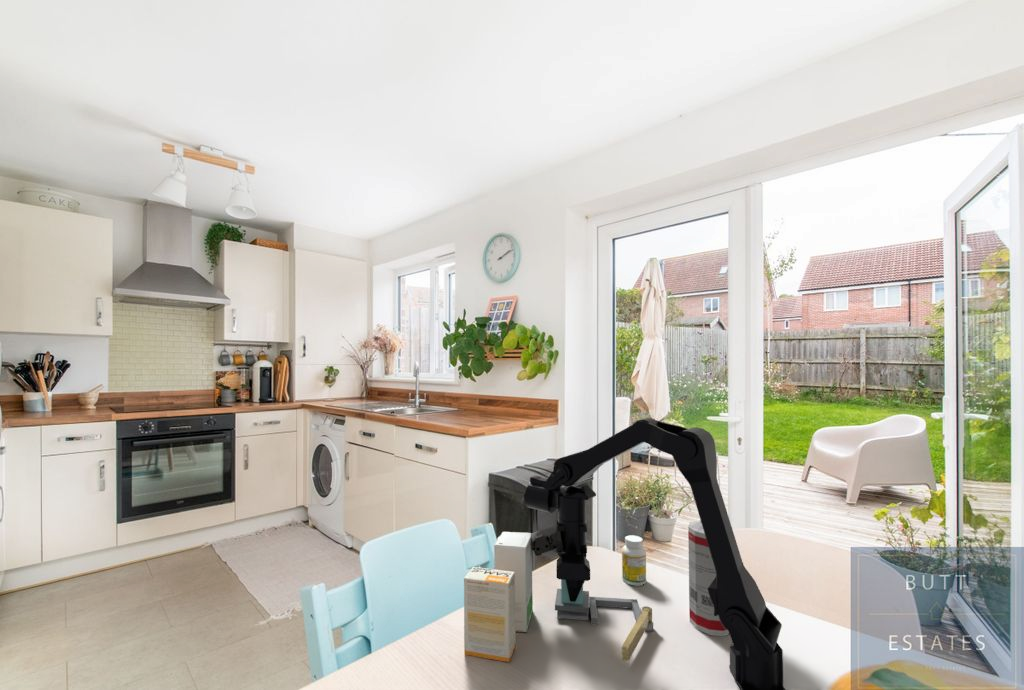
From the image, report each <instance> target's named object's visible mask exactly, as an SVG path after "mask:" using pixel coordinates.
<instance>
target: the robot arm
mask: <svg viewBox="0 0 1024 690" xmlns="http://www.w3.org/2000/svg"><path fill="white" fill-rule="evenodd" d="M644 443H645V444H647V445H649V446H651V447H653V448H655V449H656V450H658V451H660V452H662V453H665V454H667V455H671V456H672V458H673V460H674V462H675V465H676V466H677V469H678V471H679V472H680V473H681V475H682V476H683V478H684V479H685V480H686V482H688V484H689V486H690V489H691V492H692V495H693V496H692V497H693V499H694V502H695V506H696V509H697V512H698V515H699V519H700V520H701V523H702V526H703V530H704V533H705V537H706V540H707V543H708V547H709V550H710V553H711V557H712V560H713V563H714V567H715V570H716V577H715V579H714V580H713V581H712V583H711V584H710V586H709V587H708V592H709V595H710V598H711V600H712V602H713V605H714V616H717V615H719V619H720V621H721V624H722V625H723V627H724V628H725V629H727V630H728V631H729V634H728V635H729V636H730V638H731V641H732V645H730V646H729V665H728V666H729V672H730V674H731V676H732V678H733V679H734V681H735V682H736V683H737V684H738V687H739V688H740V690H786V688H785V687H784V660H783V659H784V658H783V657H784V656H783V655H784V654H783V653H784V652H783V651H784V650H783V648H782V647H781V646H780V644H779V643H778V639H779V636H780V633H781V629H782V627H783V626H782V625H783V624H782V623H781V621H780V620H779V619H778V618H777V617H776V616H775V615H774V614H773V612H772V611H771V610H770V609H769V608H768V606H766V605H767V604H766V601H765V599H764V597H763V595H762V593H761V590H760V589H759V586H758V584H757V582H756V580H755V579H754V578H753V576H752V575H751V574H750V572H749V571H748V570H747V568H746V567H745V565H744V562H743V559H742V556H741V553H740V549H739V546H738V543H737V540H736V537H735V533H734V530H733V527H732V523H731V521H730V517H729V515H728V510H727V507H726V504H725V501H724V498H723V495H722V491H721V489H720V485H719V482H718V476H717V475H718V474H717V473H718V469H717V468H718V458H717V451H716V442H715V439H714V437H713V435H712V434H711V432H710V431H707V430H706V429H704V428H702V427H698V426H696V427H694V426H693V427H689V428H687V427H684V426H680V425H677V424H671V423H669V422H664V421H660V420H658V419H655V418H652V417H646V418H645V417H644V418H642V419H638V420H636V421H635V422H634V423H633V424H631V425H630V426H628V427H626V428H624V429H622V430H621V431H619V432H616V433H614V434H613V435H611V436H609V437H608V438H606V439H604V440H602V441H600V442H599V443H596V444H595V445H593V446H591V447H590V448H588V449H585V450H582V451H578V452H575V453H571V454H569V455H566V456H562V457H559V458H557V459H556V460H555V461H554V463H553V471H552V472H551V473H550V474H549V476H548V477H547V478H545V477H542V476H540V475H534V476H531V477H529V483H528V485H527V486H526V489H525V493H523V500H524V505H525V506H526V507H527V508H529V509H534V510H537V511H542V512H546V513H550V514H551V513H552V514H553V513H555V512H556V511H557V519H556V525H555V526H549V527H546V528H543V529H540V530H537V531H534V532H531V533H532V539H531V545H532V552H533V553H534V556H536V557H538V556H539V557H540V556H541V555H543V554H545V553H548V552H551V551H554V550H556V553H557V555H558V558H556V579H558V580H566V585H567V589H568V594H569V599H570V601H571V602H575V601H576V599H577V597H578V595H579V592H580V590H581V588H582V586H583V587H584V583H585V582H589V581H590V580H591V566H590V561H589V560H588V559H587V553H588V546H587V532H588V526H587V525H588V524H587V501H589V500H591V499H592V498H596V497H597V493H596V492H595V491H594V490H593V489H592V488H591V487H590V486H589V484H585V485H583V486H581V487H580V486H574V485H576V484H579V483H581V482H583V481H585V480H587V479H589V478H590V477H591V476H592V475H593V474H594V473H596V472H597V471H598V470H599V468H600V467H602V466H603V465H605V464H606V463H607V462H610V461H612V460H614V459H615V458H617V457H619V456H621V455H623V454H625V453H627V452H628V451H631V450H632V449H634V448H636V447H638V446H640V445H642V444H644ZM564 487H565V488H564ZM700 520H699V521H700Z"/></svg>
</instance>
